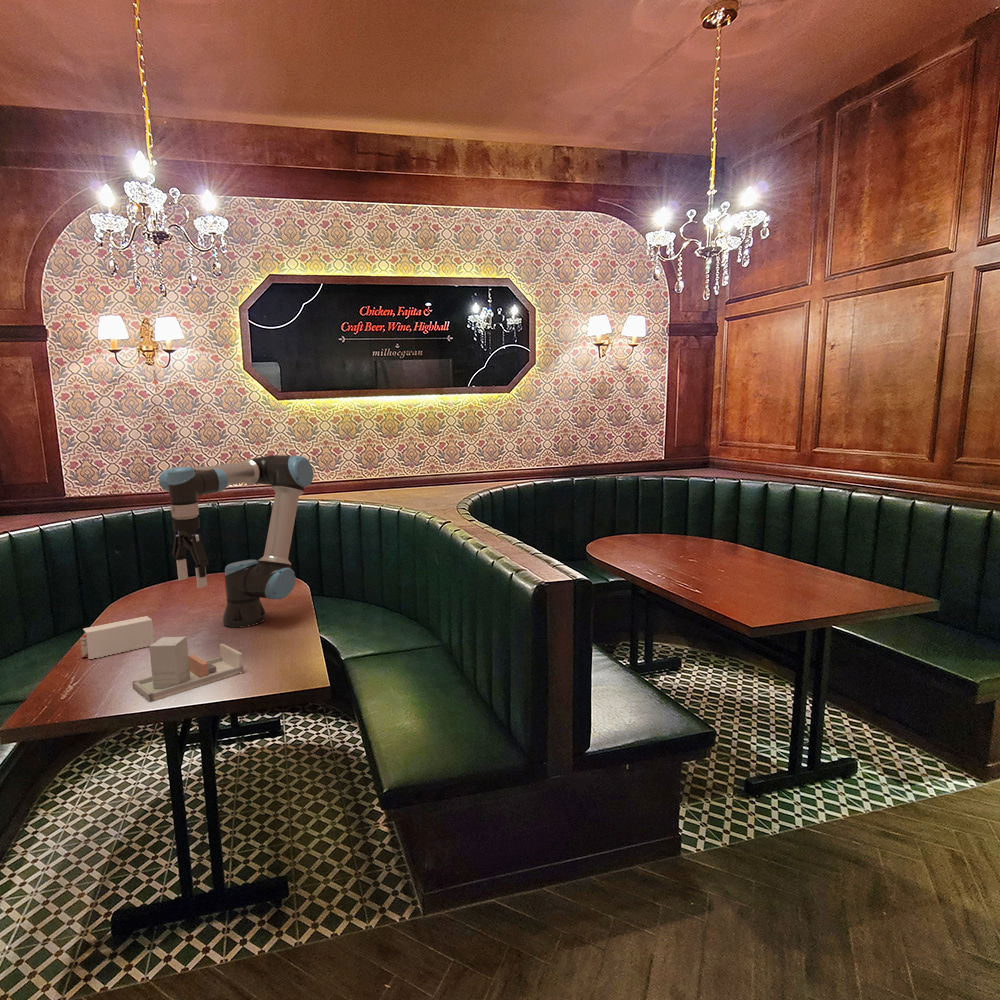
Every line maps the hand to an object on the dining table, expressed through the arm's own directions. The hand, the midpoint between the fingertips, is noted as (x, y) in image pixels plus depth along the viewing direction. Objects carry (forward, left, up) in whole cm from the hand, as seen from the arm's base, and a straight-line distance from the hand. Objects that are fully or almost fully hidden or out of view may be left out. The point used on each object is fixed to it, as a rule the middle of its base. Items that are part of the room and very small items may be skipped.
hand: (192, 583), depth 194 cm
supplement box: (+14, +16, -24) cm, 32 cm away
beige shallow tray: (+9, +16, -25) cm, 31 cm away
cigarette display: (+15, -26, -25) cm, 39 cm away
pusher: (+4, +16, -24) cm, 29 cm away
